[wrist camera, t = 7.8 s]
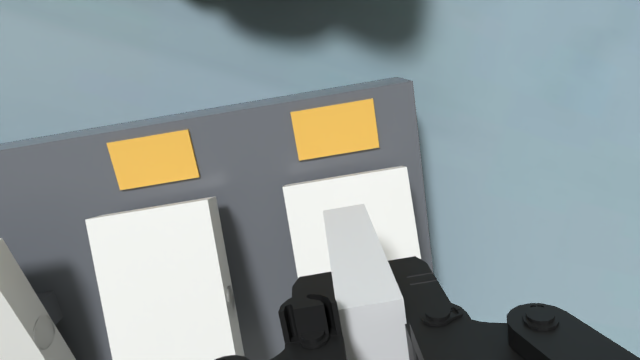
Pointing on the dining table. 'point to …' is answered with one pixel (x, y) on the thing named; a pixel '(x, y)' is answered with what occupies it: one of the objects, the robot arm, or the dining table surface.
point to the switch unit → (200, 193)
